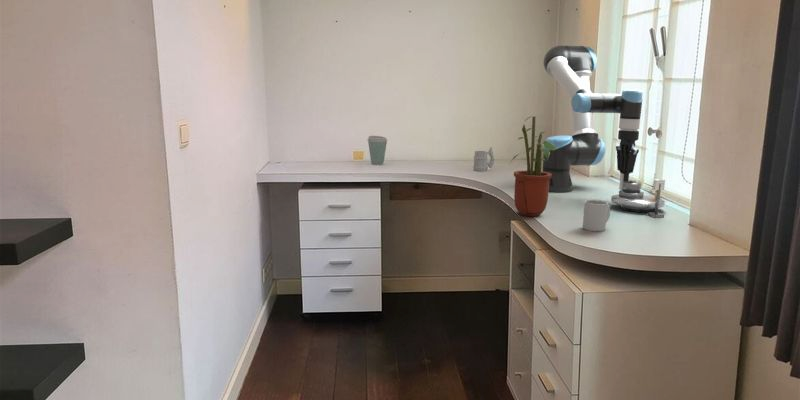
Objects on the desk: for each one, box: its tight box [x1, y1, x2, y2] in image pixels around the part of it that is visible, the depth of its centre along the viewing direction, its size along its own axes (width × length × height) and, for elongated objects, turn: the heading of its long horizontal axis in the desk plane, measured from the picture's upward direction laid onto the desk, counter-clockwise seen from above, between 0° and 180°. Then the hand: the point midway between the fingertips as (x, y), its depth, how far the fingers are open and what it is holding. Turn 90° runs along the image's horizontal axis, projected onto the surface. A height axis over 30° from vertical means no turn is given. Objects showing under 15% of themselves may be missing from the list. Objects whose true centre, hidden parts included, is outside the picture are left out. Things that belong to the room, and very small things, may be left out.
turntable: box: [610, 190, 666, 209], centre depth 232 cm, size 19×19×8 cm
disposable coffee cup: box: [366, 135, 388, 166], centre depth 331 cm, size 11×11×15 cm
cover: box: [618, 180, 644, 199], centre depth 236 cm, size 9×9×6 cm
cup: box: [582, 199, 611, 232], centre depth 199 cm, size 7×10×9 cm
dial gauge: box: [647, 178, 666, 219], centre depth 220 cm, size 4×6×13 cm
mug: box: [472, 147, 495, 172], centre depth 319 cm, size 8×12×12 cm, turn 112°
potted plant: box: [509, 115, 558, 217], centre depth 218 cm, size 17×16×35 cm
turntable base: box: [620, 205, 653, 213], centre depth 233 cm, size 11×11×2 cm
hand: (623, 189), depth 242 cm, fingers closed
